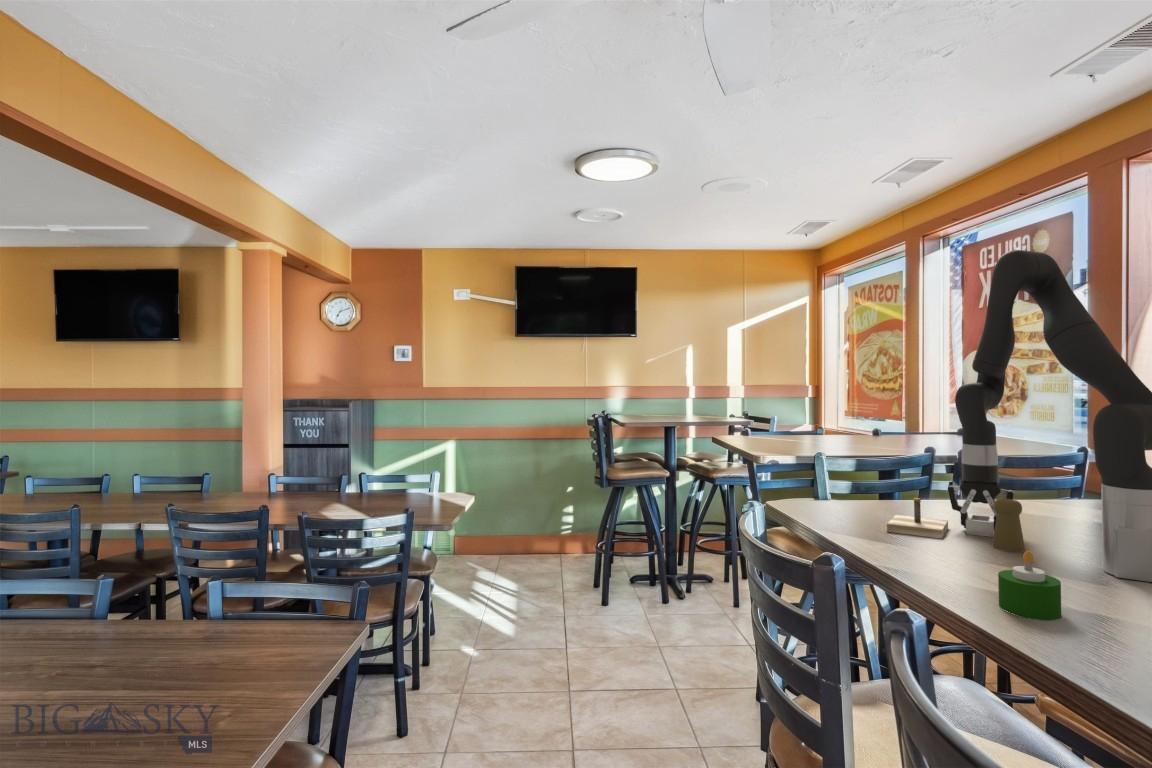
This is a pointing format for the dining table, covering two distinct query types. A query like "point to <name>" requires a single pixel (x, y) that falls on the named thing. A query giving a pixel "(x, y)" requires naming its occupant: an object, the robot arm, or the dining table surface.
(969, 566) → the dining table surface
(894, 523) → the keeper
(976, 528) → the white hollow block
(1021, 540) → the cork
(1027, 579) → the candle
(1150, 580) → the robot arm
